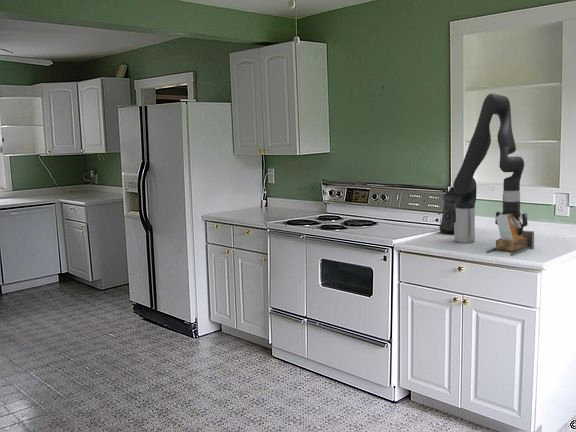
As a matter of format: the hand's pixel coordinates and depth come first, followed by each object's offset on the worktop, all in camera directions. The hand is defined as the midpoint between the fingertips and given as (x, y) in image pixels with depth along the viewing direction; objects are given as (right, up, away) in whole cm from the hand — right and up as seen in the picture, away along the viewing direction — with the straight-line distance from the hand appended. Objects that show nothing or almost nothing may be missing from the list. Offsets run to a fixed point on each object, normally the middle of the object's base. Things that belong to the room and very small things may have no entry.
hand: (511, 234), depth 273 cm
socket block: (+1, -7, +1) cm, 7 cm away
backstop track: (-1, -7, -1) cm, 8 cm away
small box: (+1, -3, 0) cm, 3 cm away
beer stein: (-10, -1, +51) cm, 52 cm away
